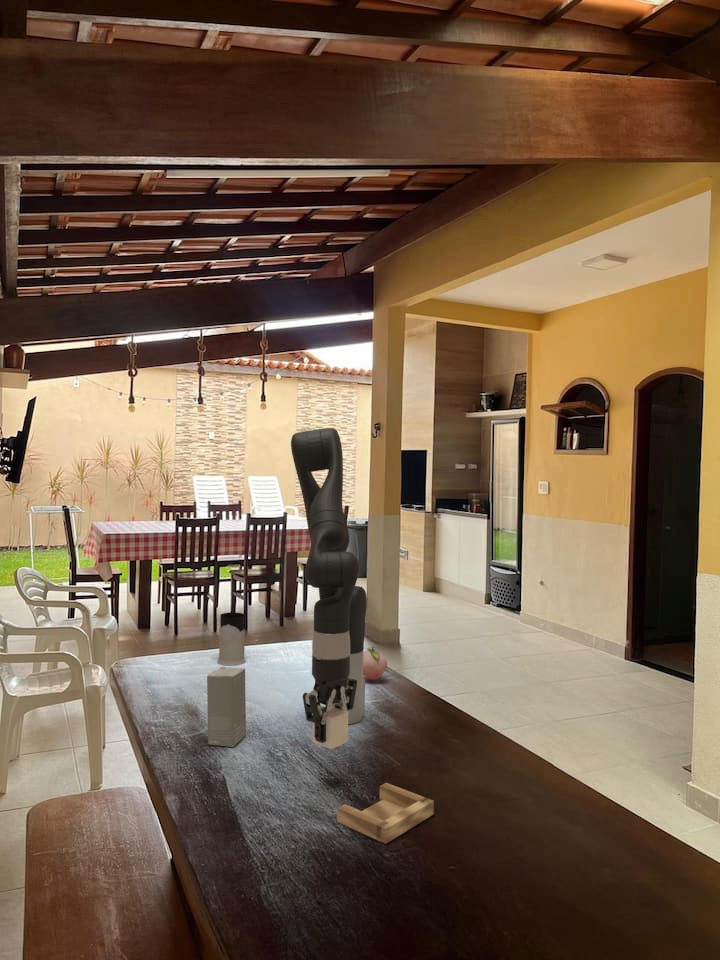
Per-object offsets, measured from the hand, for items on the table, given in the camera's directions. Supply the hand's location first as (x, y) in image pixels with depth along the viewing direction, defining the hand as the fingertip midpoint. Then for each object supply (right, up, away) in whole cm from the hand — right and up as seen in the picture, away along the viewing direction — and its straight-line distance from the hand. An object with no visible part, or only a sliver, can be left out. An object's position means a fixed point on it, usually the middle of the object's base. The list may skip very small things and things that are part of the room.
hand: (330, 736), depth 144 cm
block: (0, -1, 0) cm, 1 cm away
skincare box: (-25, -8, +21) cm, 34 cm away
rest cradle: (+11, -10, -14) cm, 20 cm away
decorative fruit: (+9, -8, +69) cm, 70 cm away
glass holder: (-34, -7, +89) cm, 95 cm away
